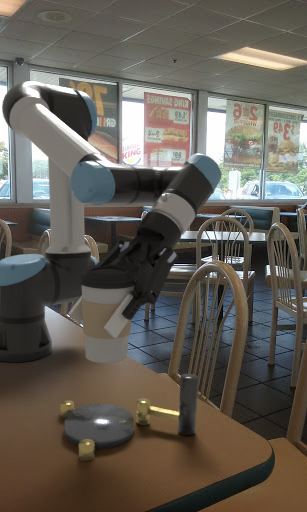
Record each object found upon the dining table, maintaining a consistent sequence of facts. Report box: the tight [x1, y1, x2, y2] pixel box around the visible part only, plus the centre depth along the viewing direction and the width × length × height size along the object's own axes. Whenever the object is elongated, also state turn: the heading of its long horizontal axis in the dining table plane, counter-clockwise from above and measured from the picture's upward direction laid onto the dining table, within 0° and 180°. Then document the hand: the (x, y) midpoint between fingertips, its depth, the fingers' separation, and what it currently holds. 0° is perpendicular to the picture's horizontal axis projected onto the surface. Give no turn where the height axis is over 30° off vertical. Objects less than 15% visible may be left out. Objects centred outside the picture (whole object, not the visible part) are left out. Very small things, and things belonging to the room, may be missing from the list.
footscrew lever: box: [135, 373, 199, 436], centre depth 81 cm, size 11×3×10 cm, turn 70°
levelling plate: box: [60, 399, 135, 462], centre depth 80 cm, size 16×12×2 cm
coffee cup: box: [80, 264, 136, 364], centre depth 78 cm, size 9×9×15 cm
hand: (91, 325), depth 76 cm, fingers closed on coffee cup, 9 cm apart
